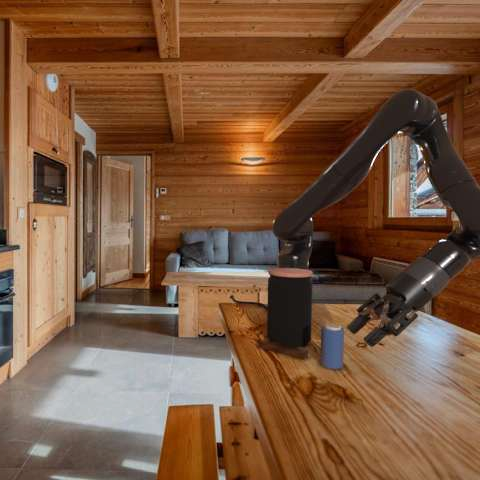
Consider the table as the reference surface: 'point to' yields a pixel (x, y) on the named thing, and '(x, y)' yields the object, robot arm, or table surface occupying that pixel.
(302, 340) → the coffee jar
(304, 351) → the walnut stick
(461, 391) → the table surface
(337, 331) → the salt shaker
